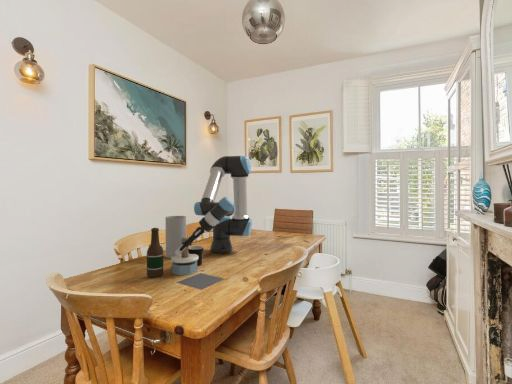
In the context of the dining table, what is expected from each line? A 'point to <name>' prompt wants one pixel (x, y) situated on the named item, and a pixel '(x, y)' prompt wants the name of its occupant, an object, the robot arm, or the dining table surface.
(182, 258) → the lid
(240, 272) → the dining table surface
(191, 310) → the dining table surface
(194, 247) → the coffee mug
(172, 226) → the cylinder vase
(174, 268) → the bowl
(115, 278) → the dining table surface
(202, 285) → the mat
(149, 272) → the beer bottle
